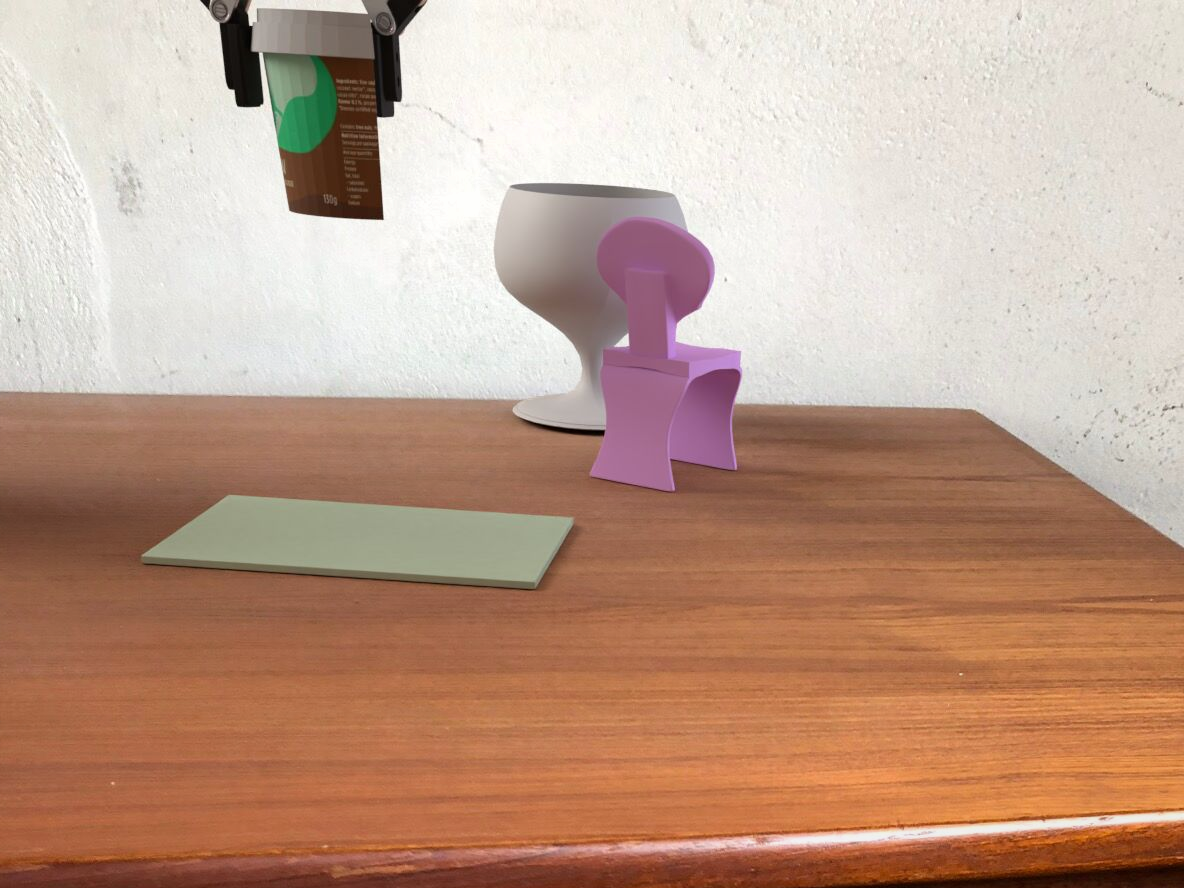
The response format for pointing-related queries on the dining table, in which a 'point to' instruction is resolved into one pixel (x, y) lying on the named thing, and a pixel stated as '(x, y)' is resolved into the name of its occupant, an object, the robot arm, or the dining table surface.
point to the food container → (323, 109)
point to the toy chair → (662, 360)
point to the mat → (367, 542)
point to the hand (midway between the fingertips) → (316, 109)
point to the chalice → (570, 278)
